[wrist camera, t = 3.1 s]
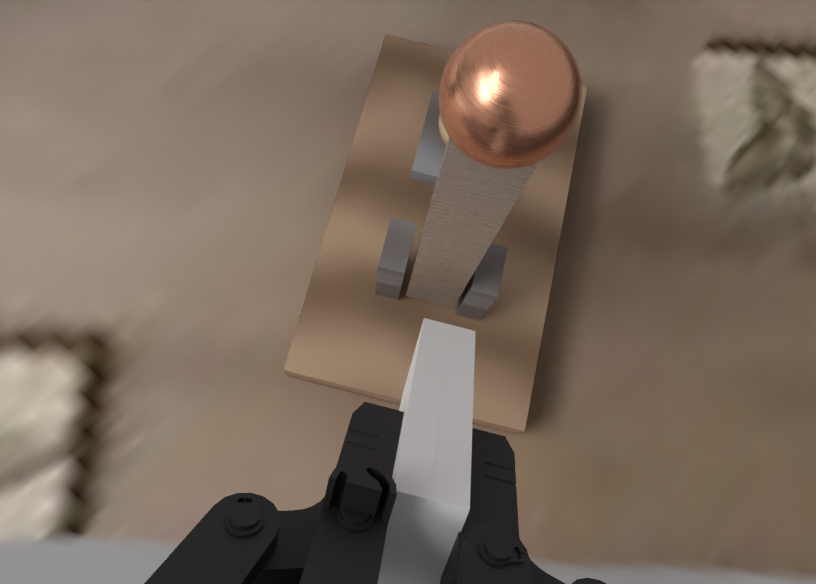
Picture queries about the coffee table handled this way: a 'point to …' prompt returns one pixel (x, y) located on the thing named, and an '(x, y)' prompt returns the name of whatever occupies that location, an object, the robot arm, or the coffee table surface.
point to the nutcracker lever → (491, 145)
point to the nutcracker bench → (397, 247)
